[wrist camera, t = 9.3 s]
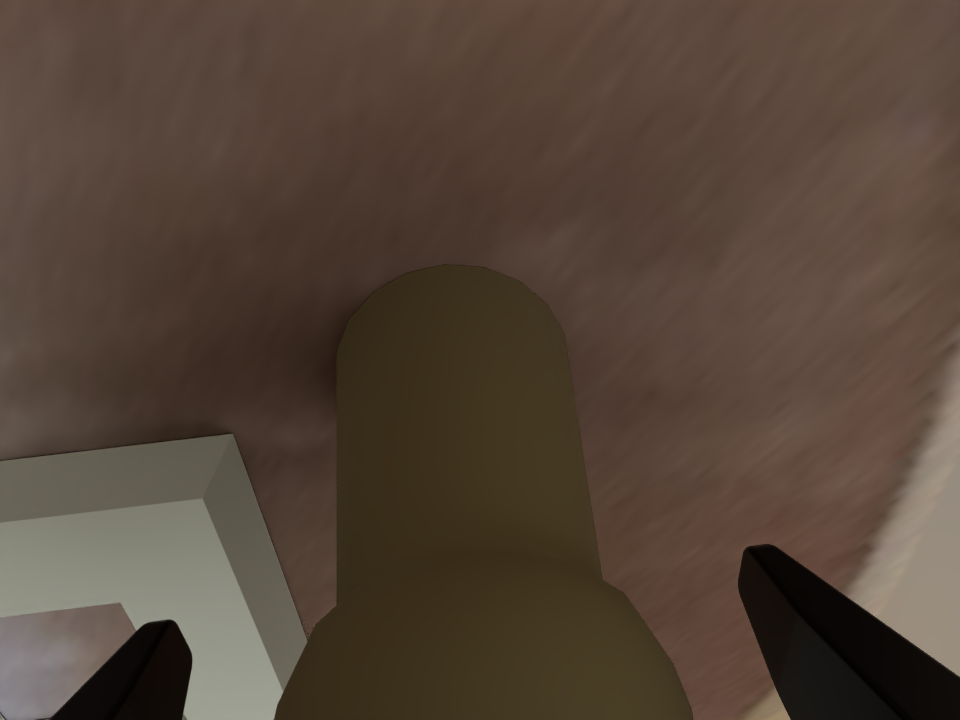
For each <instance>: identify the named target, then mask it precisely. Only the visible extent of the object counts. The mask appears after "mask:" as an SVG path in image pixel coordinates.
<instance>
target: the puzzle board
mask: <svg viewBox="0 0 960 720" xmlns="http://www.w3.org/2000/svg"><path fill="white" fill-rule="evenodd" d="M113 603H121V605H122V606H123V608H124V610H125V612H126V613H127V615H128V617H129V619H130V620H131V622H132V624H133V626H134V627H135V629H136V631H137V630H138V629H139V628H140V627H141V626H142V625H144V624H145V623H148V622H152V621H159V620H167V619H171V620H173V621H175V622H176V623H177V624H178V626H179V628H180V630H181V632H182V634H183V636H184V638H185V640H186V642H187V644H188V646H189V648H190V650H191V653H192V660H193V661H192V671H191V676H190V681H189V686H188V692H187V697H186V702H185V707H184V713H183V718H182V720H274V717H275V712H276V708H277V704H278V702H279V700H280V698H281V696H282V694H283V692H284V689H285V687H286V685H287V683H288V681H289V679H290V677H291V675H292V672H293V670H294V668H295V666H296V664H297V662H298V660H299V658H300V656H301V654H302V652H303V650H304V648H305V646H306V644H307V642H308V641H307V638H306V636H305V633H304V630H303V627H302V624H301V622H300V619H299V616H298V613H297V610H296V608H295V605H294V602H293V599H292V597H291V594H290V591H289V588H288V585H287V583H286V580H285V577H284V574H283V572H282V569H281V566H280V563H279V560H278V558H277V555H276V552H275V549H274V546H273V544H272V541H271V538H270V535H269V533H268V530H267V527H266V524H265V521H264V519H263V516H262V513H261V510H260V507H259V505H258V502H257V499H256V496H255V494H254V491H253V488H252V485H251V482H250V480H249V477H248V474H247V471H246V469H245V466H244V463H243V460H242V457H241V455H240V452H239V449H238V446H237V443H236V441H235V438H234V435H233V434H226V435H218V436H209V437H201V438H192V439H184V440H175V441H167V442H158V443H150V444H141V445H133V446H124V447H116V448H107V449H99V450H90V451H82V452H73V453H65V454H56V455H48V456H39V457H31V458H22V459H14V460H5V461H0V617H8V616H16V615H24V614H32V613H40V612H48V611H56V610H64V609H72V608H80V607H89V606H97V605H105V604H113ZM0 720H5V719H4V718H3V717H2V715H1V714H0ZM45 720H49V719H45Z"/></svg>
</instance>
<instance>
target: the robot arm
mask: <svg viewBox="0 0 960 720" xmlns="http://www.w3.org/2000/svg"><path fill="white" fill-rule="evenodd" d="M738 589H739V593H740V597H741V600H742V602H743V605H744V607H745V610H746V613H747V615H748V618H749V620H750V623H751V626H752V628H753V631H754V633H755V636H756V639H757V641H758V644H759V646H760V649H761V652H762V654H763V657H764V659H765V662H766V665H767V667H768V670H769V672H770V675H771V678H772V680H773V682H774V685H775V687H776V690H777V692H778V694H779V696H780V698H781V701H782V703H783V705H784V707H785V709H786V711H787V713H788V715H789V717H790V719H791V720H960V677H959V676H958V675H956V674H955V673H953V672H952V671H951V670H949V669H948V668H946V667H945V666H944V665H942V664H941V663H939V662H938V661H936V660H935V659H934V658H932V657H931V656H930V655H928V654H927V653H925V652H924V651H922V650H921V649H920V648H918V647H917V646H915V645H914V644H913V643H911V642H910V641H908V640H907V639H906V638H904V637H902V636H901V635H900V634H898V633H897V632H896V631H894V630H893V629H891V628H890V627H889V626H887V625H885V624H884V623H883V622H882V621H880V620H879V619H877V618H876V617H875V616H873V615H872V614H870V613H869V612H868V611H866V610H865V609H863V608H862V607H861V606H859V605H858V604H856V603H855V602H853V601H852V600H851V599H849V598H848V597H846V596H845V595H844V594H842V593H841V592H839V591H838V590H837V589H835V588H834V587H832V586H831V585H830V584H828V583H827V582H825V581H824V580H822V579H821V578H820V577H818V576H817V575H815V574H814V573H813V572H811V571H810V570H808V569H807V568H806V567H804V566H803V565H801V564H800V563H799V562H797V561H796V560H794V559H793V558H791V557H790V556H789V555H787V554H786V553H784V552H783V551H782V550H780V549H779V548H777V547H776V546H774V545H771V544H763V545H755V546H749V547H747V548H746V549H745V550H744V552H743V556H742V562H741V567H740V573H739V578H738ZM192 661H193V660H192V653H191V650H190V648H189V646H188V644H187V642H186V640H185V638H184V636H183V634H182V632H181V630H180V628H179V626H178V624H177V623H176V622H175V621H173V620H171V619H167V620H159V621H152V622H148V623H145V624H144V625H142V626H141V627H140V628H139V629H138V630H137V631H136V632H135V633H134V634H133V635H132V636H131V637H130V638H129V639H128V640H127V641H126V642H125V643H124V644H123V645H122V646H121V647H120V648H119V649H118V650H117V651H116V652H115V653H114V654H113V655H112V656H111V657H110V658H109V659H108V660H107V661H106V662H105V663H104V664H103V665H102V666H101V667H100V669H99V670H98V671H97V672H96V673H95V674H94V675H93V676H92V677H91V678H90V679H89V680H88V681H87V682H86V683H85V684H84V685H83V686H82V687H81V688H80V689H79V690H78V691H77V692H76V693H75V694H74V695H73V696H72V697H71V698H70V699H69V700H68V701H67V702H66V703H65V704H64V705H63V706H62V707H61V708H60V709H59V710H58V711H57V712H56V713H55V714H54V715H53V716H52V717H51V718H50V719H49V720H182V718H183V713H184V707H185V702H186V697H187V692H188V686H189V681H190V676H191V671H192Z"/></svg>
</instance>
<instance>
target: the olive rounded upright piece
mask: <svg viewBox="0 0 960 720" xmlns="http://www.w3.org/2000/svg"><path fill="white" fill-rule="evenodd" d="M274 720H693V714H692V709H691V706H690V704H689V701H688V699H687V696H686V694H685V691H684V689H683V687H682V684H681V682H680V679H679V677H678V674H677V672H676V669H675V667H674V664H673V663H672V661H671V660H670V658H669V657H668V655H667V654H666V652H665V651H664V649H663V648H662V647H661V645H660V644H659V642H658V641H657V639H656V638H655V636H654V635H653V633H652V632H651V630H650V629H649V628H648V626H647V625H646V623H645V622H644V621H643V619H642V618H641V616H640V615H639V613H638V612H637V611H636V609H635V608H634V606H633V605H632V603H631V602H630V601H629V599H628V598H627V596H626V595H625V594H624V593H623V592H621V591H619V590H618V589H616V588H615V587H613V586H612V585H610V584H608V583H607V582H605V581H604V580H603V578H602V572H601V565H600V559H599V553H598V546H597V540H596V533H595V527H594V521H593V514H592V508H591V501H590V495H589V489H588V482H587V476H586V469H585V463H584V456H583V450H582V444H581V437H580V431H579V424H578V418H577V412H576V405H575V399H574V392H573V386H572V380H571V373H570V367H569V360H568V354H567V347H566V341H565V335H564V332H563V331H562V329H561V327H560V325H559V324H558V322H557V320H556V318H555V317H554V315H553V313H552V311H551V310H550V308H549V306H548V305H547V304H546V303H545V302H544V301H543V300H541V299H540V298H539V297H538V296H537V295H536V294H534V293H533V292H532V291H531V290H530V289H529V288H527V287H526V286H525V285H524V284H523V283H522V282H520V281H518V280H515V279H513V278H510V277H508V276H505V275H503V274H500V273H498V272H495V271H493V270H490V269H488V268H485V267H473V266H460V265H447V264H444V265H440V266H436V267H431V268H427V269H422V270H418V271H413V272H409V273H405V274H404V275H402V276H400V277H399V278H397V279H395V280H393V281H392V282H390V283H388V284H387V285H385V286H383V287H382V288H380V289H378V290H376V291H375V292H373V293H372V294H371V295H370V296H369V297H368V299H367V300H366V301H365V302H364V303H363V304H362V305H361V307H360V308H359V309H358V310H357V311H356V312H355V314H354V315H353V316H352V317H351V318H350V319H349V321H348V323H347V326H346V329H345V331H344V334H343V337H342V339H341V342H340V345H339V347H338V350H337V606H336V607H334V608H333V609H332V610H331V611H330V612H329V613H328V614H327V615H326V616H325V617H323V618H322V619H321V620H320V621H319V622H318V623H317V624H316V625H315V627H314V629H313V631H312V634H311V636H310V638H309V640H308V642H307V644H306V646H305V648H304V650H303V652H302V654H301V656H300V658H299V660H298V662H297V664H296V666H295V668H294V670H293V672H292V675H291V677H290V679H289V681H288V683H287V685H286V687H285V689H284V692H283V694H282V696H281V698H280V700H279V702H278V704H277V708H276V712H275V717H274Z"/></svg>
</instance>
